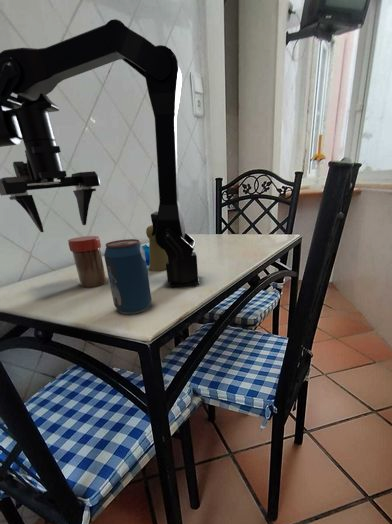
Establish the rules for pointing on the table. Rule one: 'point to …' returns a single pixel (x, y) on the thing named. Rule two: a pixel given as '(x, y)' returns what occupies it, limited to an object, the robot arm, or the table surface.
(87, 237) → the lid
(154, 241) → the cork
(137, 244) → the soda can
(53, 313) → the table surface
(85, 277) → the jar
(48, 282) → the table surface
